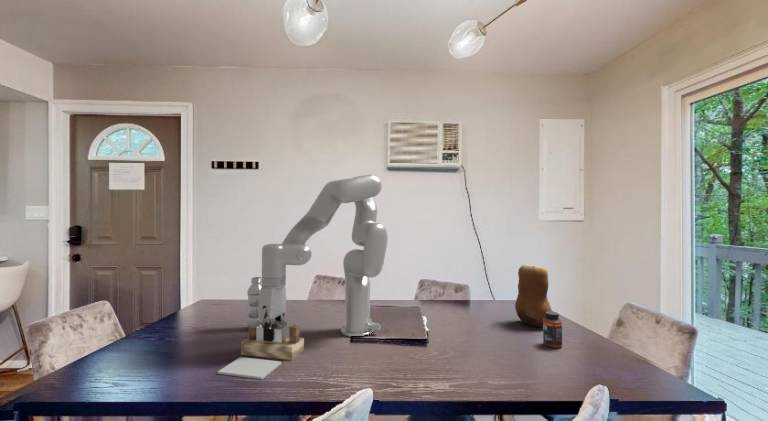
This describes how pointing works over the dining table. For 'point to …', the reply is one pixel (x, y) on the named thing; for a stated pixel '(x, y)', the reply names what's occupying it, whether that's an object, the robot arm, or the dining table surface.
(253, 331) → the wooden peg stand
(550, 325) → the supplement bottle
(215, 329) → the dining table surface
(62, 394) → the dining table surface
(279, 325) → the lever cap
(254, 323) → the plastic bottle
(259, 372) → the mat
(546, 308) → the butternut squash
